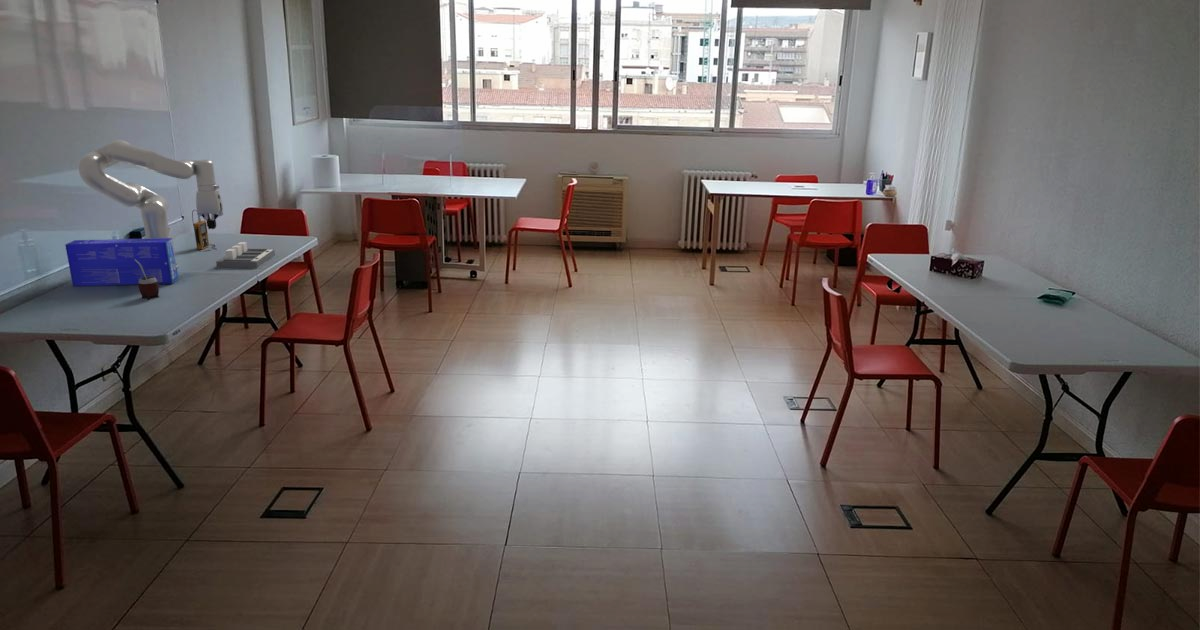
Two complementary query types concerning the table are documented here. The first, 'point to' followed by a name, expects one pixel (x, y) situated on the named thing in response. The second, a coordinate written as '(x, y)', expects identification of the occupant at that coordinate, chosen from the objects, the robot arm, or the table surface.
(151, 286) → the mate gourd
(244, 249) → the tab
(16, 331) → the table surface
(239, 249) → the tab middle
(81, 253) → the toner cartridge box
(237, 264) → the switch bank
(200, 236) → the multimeter
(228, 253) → the tab
